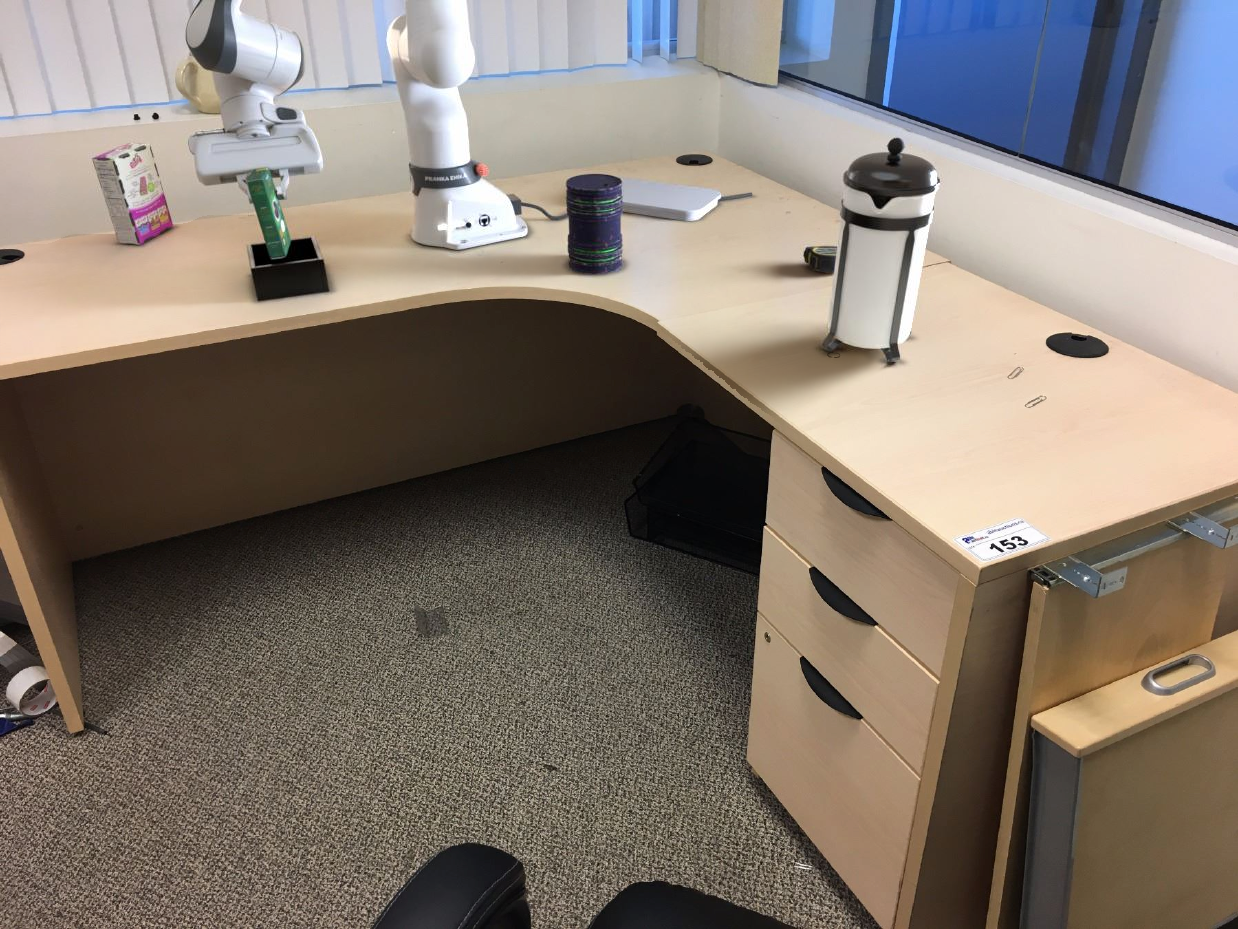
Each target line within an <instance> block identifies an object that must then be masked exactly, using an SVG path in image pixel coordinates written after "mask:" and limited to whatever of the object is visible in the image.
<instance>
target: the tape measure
mask: <svg viewBox="0 0 1238 929" xmlns="http://www.w3.org/2000/svg"><path fill="white" fill-rule="evenodd" d="M837 246H838V245H837ZM837 246H836V245H819V246H818V245H817V246H815V245H814V246H806V247H805V249H804V250H803V259H804V262H805V264H807V265H808V267H809V269H811V270H813V271H815V272H821V273H825V274H834V270H835V262H836V254H837Z"/></svg>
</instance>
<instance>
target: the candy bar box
mask: <svg viewBox="0 0 1238 929" xmlns="http://www.w3.org/2000/svg"><path fill="white" fill-rule="evenodd" d="M151 145H152V144H151V143H142V142H128V143H126V144H123V145H121V146H118V147H116V148H113V149H111V150H108V151H106V152H103V153H101V154H99V155H96V156H94V157H92V158H91V160H92V163H93V166H94V169H95V170H94V171H95V173H96V176H97V180H98V182H99V185H100V189H101V192H102V195H103V197H104V201H105V204H106V207H107V210H108V213H109V216H110V219H111V223H112V226H113V230H114V232H115V235H116V238H117V242H118V244H121V245H131V246H133V245H136V246H140V245H143V244H145V243H146V242H148V241H151V240H152V239H154V238H155V237H156V238H157V236H159V235H161V234H163V233H164V232H166V231H168V230H171V229H172V228H173V227H174V223H173V221H172V220H173V219H172V216H171V213H170V209H169V206H168V203H167V199H166V196H165V192H164V189H163V186H162V185H163V184H162V181H161V178H160V174H159V171H158V167H157V164H156V163H157V162H156V159H155V156H154V153H153V150H152V146H151Z"/></svg>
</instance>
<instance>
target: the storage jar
mask: <svg viewBox="0 0 1238 929" xmlns="http://www.w3.org/2000/svg"><path fill="white" fill-rule="evenodd" d="M620 178H621V177H618V176H615V175H613V174H612V175H611V174H604V173H586V174H585V173H584V174H579V175H578V174H577V175H574V176H570V177H568V179H566V181H565V187H566V190H565V194H566V196H565V205H566V210H565V211H566V214H567V215H568V216H569V217H568V235H567V253H568V254H567V255H568V268H569V269H570V270H572V271H573V272H576V273H579V274H583V275H591V276H592V275H594V276H595V275H597V276H598V275H606V274H612V273H614V272H617V271H620V269H621V268H622V267H623V260H622V258H623V250H624V247H623V245H624V244H623V241H624V240H623V233H622V214H623V212H622V210H623V208H622V203H623V196H622V189H621V187H622V180H621V179H620Z"/></svg>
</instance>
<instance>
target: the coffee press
mask: <svg viewBox="0 0 1238 929" xmlns="http://www.w3.org/2000/svg"><path fill="white" fill-rule="evenodd" d="M886 148H887V151H881V152H880V151H879V152H873V153H867V154H864V155H861V156H859V157H857V158H856V159H854V160H853V161H852V162H851V163H850V165H849V166H848V168H847V170H846V171H845V172H844V173H843V176H842V182H843V185H844V190H843V191H844V192H843V198H842V199H841V202H840V208H839V209H840V210H839V216H840V223H839V231H838V239H837V254H836V262H835V270H834V273H833V277H832V278H833V279H832V287H831V295H830V302H829V312H828V320H827V328H828V330H829V331H828V333H827V335H826V337H825V338H824V339H823V340H822V342H821V348H822V349H824V350H825V351H826V352H828V353H832V352H834V350H836V348H837V347H838V346H840V344H842V343H844V344H847V345H850V346H852V347H856V348H860V349H869V350H870V349H871V350H872V349H873V350H879V349H880V350H881V351H882V352H883V354H884V356H885V357H884V358H885V360H886V361H887V363H889V364H890V363H896V362H899V361H900V360H901V354H900V348H899V345H901V344H902V343H904V342H905V341H906V340H907V339H908V338H909V337H910V336H911V334H912V330H911V328H912V323H913V318H914V312H915V307H916V302H917V297H918V291H919V286H920V278H921V274H922V269H923V263H924V258H925V257H924V256H925V251H926V246H927V240H928V235H929V229H930V225H931V224H932V222H933V218H934V217H933V216H934V212H935V211H934V210H935V207H934V201H935V195H936V193H937V191H938V189H939V188H940V184H941V179H940V177H939V176H938V173H937V169H936V168H935V166H934V164H932V163H931V162H930V161H929V160H926V159H925V158H923V157H920V156H917V155H914V154H910V153H903V151H904V150H905V149H906V145H905V142H904V140H903V139H902V138H900V137H893V138H891V139H890V140H889V141H888V143H887V145H886ZM834 338H835V339H834Z"/></svg>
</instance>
